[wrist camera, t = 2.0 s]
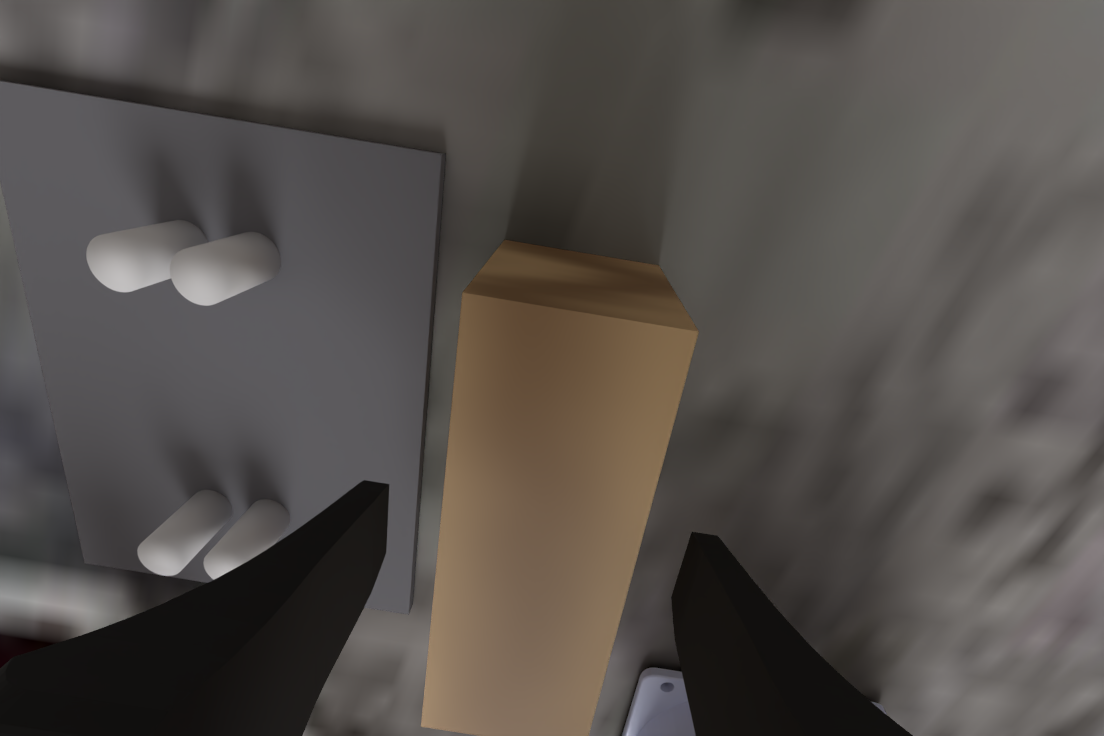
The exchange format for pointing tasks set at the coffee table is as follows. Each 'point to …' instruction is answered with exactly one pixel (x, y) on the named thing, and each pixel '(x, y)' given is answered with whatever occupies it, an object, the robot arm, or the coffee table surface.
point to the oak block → (548, 483)
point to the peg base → (223, 324)
